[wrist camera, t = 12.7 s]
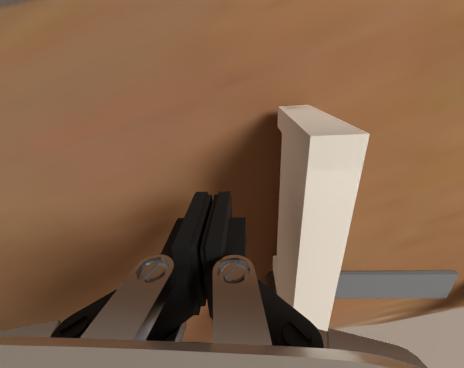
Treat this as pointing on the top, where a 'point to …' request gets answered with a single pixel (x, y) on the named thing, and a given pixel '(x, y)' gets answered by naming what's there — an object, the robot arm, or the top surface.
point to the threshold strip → (395, 284)
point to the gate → (315, 206)
